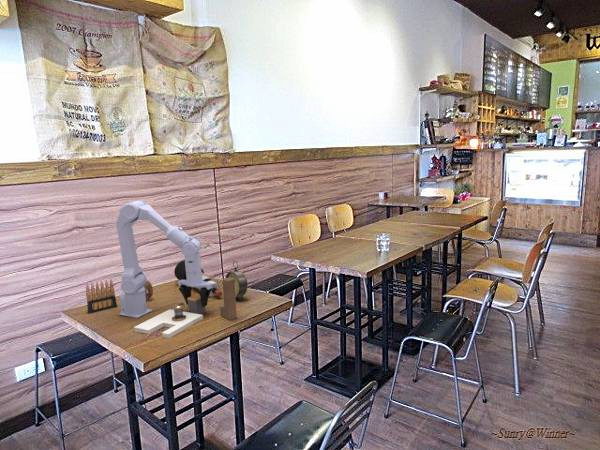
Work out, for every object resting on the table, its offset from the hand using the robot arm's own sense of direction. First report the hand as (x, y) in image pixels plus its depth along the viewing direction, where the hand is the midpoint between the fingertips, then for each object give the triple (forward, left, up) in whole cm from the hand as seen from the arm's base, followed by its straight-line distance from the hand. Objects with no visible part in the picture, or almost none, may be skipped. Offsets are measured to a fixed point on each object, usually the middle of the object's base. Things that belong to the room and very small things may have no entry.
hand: (196, 305), depth 166 cm
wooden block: (+14, +1, -3) cm, 14 cm away
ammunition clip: (-39, -11, -3) cm, 41 cm away
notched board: (-2, -13, -3) cm, 14 cm away
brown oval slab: (-35, +5, -3) cm, 36 cm away
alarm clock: (+6, +19, -3) cm, 20 cm away
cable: (-16, +23, -4) cm, 28 cm away
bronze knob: (0, -10, -2) cm, 10 cm away
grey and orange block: (0, 0, -3) cm, 3 cm away
